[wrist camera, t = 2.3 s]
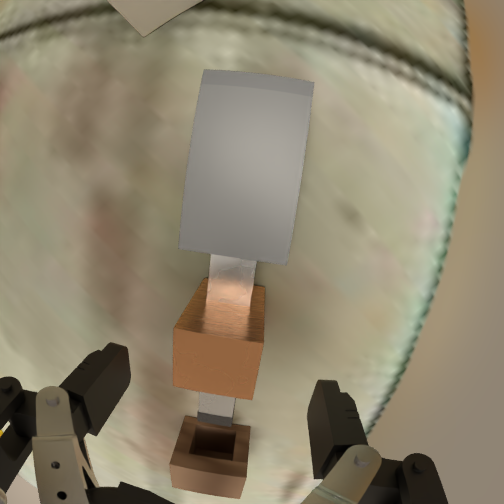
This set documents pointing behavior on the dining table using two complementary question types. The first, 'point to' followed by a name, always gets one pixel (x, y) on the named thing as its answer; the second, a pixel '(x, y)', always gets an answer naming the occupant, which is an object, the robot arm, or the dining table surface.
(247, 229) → the outer sleeve
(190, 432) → the socket block
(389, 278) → the dining table surface
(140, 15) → the milk
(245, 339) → the bar with orange block
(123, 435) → the dining table surface
